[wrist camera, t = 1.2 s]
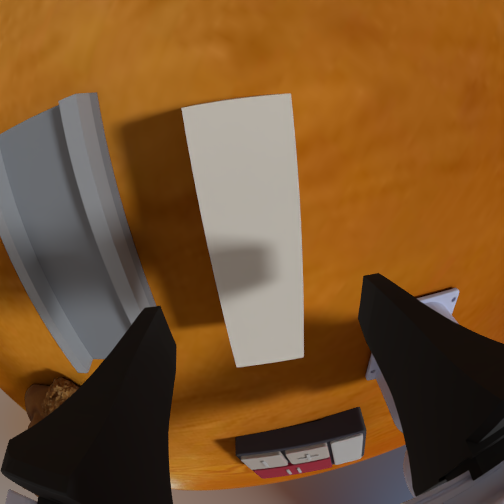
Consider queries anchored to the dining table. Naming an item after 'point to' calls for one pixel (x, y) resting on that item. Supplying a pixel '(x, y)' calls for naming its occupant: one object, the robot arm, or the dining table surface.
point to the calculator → (304, 445)
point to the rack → (70, 229)
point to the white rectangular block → (251, 220)
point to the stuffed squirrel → (47, 399)
